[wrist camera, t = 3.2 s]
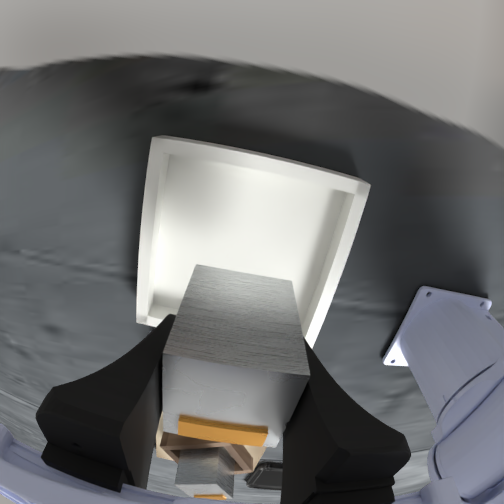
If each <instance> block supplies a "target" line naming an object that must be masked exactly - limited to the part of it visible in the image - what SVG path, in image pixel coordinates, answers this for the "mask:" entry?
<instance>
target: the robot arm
mask: <svg viewBox="0 0 504 504" xmlns="http://www.w3.org/2000/svg"><path fill="white" fill-rule="evenodd" d="M428 292H429V294H427V293H428ZM491 304H492V302H491V300H489V299H486V298H482V297H477V296H472V295H467V294H462V293H457V292H452V291H447V290H442V289H437V288H433V287H428V286H422V287H420V288H419V290H418V292H417V294H416V296H415V298H414V300H413V302H412V304H411V306H410V308H409V310H408V312H407V314H406V316H405V318H404V320H403V322H402V324H401V326H400V328H399V330H398V332H397V334H396V336H395V338H394V339H393V341H392V343H391V345H390V347H389V348H388V350H387V352H386V354H385V355H384V357H383V359H382V360H383V363H384V364H385V365H399V366H409V368H410V370H411V372H412V374H413V376H414V378H415V380H416V382H417V384H418V386H419V388H420V390H421V392H422V394H423V396H424V398H425V400H426V402H427V404H428V406H429V408H430V410H431V412H432V414H433V417H434V419H435V421H436V423H437V426H436V427H435V428H434V429H433V430H432V431H431V434H432V436H433V439H434V441H435V444H434V445H433V446H432V447H431V448H430V450H429V453H428V458H427V465H428V473H429V477H430V480H431V483H429V484H427V485H426V486H424V487H423V488H422V489H421V490H420V491H418V492H413V493H409V494H404V495H399V496H394V494H393V490H392V486H393V485H394V484H395V481H394V477H393V476H394V475H395V474H396V473H397V472H398V471H399V470H400V469H401V468H402V467H403V466H405V464H406V463H407V462H408V461H409V459H410V457H411V452H410V449H409V446H408V443H407V440H406V438H405V436H404V434H402V433H400V432H398V431H396V430H395V429H393V428H391V427H389V426H387V425H386V424H384V423H383V422H381V421H380V420H378V419H377V418H375V417H374V416H372V415H371V414H370V413H368V412H367V411H366V410H364V409H363V408H362V407H361V406H360V405H358V404H357V403H356V402H355V401H354V400H353V399H352V398H351V397H350V396H349V395H348V394H347V393H346V392H345V391H344V390H343V389H342V388H341V387H340V386H339V385H338V384H337V383H336V382H335V380H334V379H333V378H332V377H331V375H330V374H329V373H328V372H327V370H326V369H325V368H324V366H323V365H322V363H321V362H320V361H319V359H318V358H317V356H316V355H315V353H314V352H313V350H312V349H311V347H310V346H309V344H308V342H307V341H306V339H305V338H304V336H303V339H304V344H305V349H306V354H307V360H308V365H309V370H310V378H309V380H308V382H307V384H306V386H305V389H304V391H303V393H302V395H301V397H300V399H299V402H298V404H297V406H296V408H295V410H294V412H293V414H292V416H291V418H290V420H289V422H288V424H287V426H286V428H285V430H284V432H283V472H282V490H281V502H280V504H504V328H503V327H502V326H501V325H500V324H499V322H498V321H497V320H496V319H495V318H494V317H493V316H492V315H491V314H490V313H489V312H488V310H489V308H490V306H491ZM175 318H176V315H174V314H168V315H167V316H166V317H165V318H164V319H163V321H162V322H161V323H160V324H159V325H158V326H157V327H156V328H155V329H154V330H153V331H152V332H151V333H150V334H149V335H148V336H147V337H146V338H144V339H143V340H142V341H141V342H140V343H139V344H137V345H136V346H135V347H134V348H133V349H131V350H130V351H129V352H128V353H126V354H125V355H123V356H122V357H121V358H119V359H118V360H116V361H115V362H113V363H111V364H110V365H108V366H106V367H104V368H103V369H101V370H99V371H97V372H95V373H93V374H90V375H88V376H86V377H83V378H81V379H78V380H76V381H73V382H69V383H66V384H63V385H59V386H56V387H53V388H52V389H51V391H50V392H49V393H48V394H47V396H46V397H45V399H44V400H43V402H42V404H41V406H40V407H39V409H38V411H37V413H36V420H37V423H38V425H39V427H40V429H41V431H42V432H43V434H44V436H45V438H46V439H47V441H48V442H47V444H46V447H45V449H44V451H43V453H42V452H40V451H38V450H36V449H34V448H32V447H30V446H28V445H26V444H24V443H22V442H20V441H18V440H16V439H14V438H13V435H12V434H11V432H10V431H9V430H8V428H6V427H5V426H4V425H3V424H1V423H0V494H1V495H3V496H5V497H6V498H8V499H9V500H11V501H13V502H14V503H16V504H260V503H244V502H232V501H222V500H214V499H206V498H195V497H186V498H183V497H178V496H173V495H168V494H163V493H159V492H154V491H150V490H146V488H147V482H148V475H149V470H150V464H151V459H152V453H153V448H154V443H155V439H156V434H157V429H158V425H159V421H160V417H161V414H162V410H163V389H162V372H163V351H164V348H165V345H166V342H167V340H168V337H169V334H170V331H171V329H172V326H173V323H174V320H175ZM391 360H392V361H391Z"/></svg>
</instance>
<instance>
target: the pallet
mask: <svg viewBox="0 0 504 504" xmlns="http://www.w3.org/2000/svg"><path fill="white" fill-rule="evenodd" d="M222 446H224V447H225V449H226V450H227V451H228V452H229V453H230V455H231V456H232V457H233V458H234V459H235V468H234V474H243V473H252V472H253V471H254V469H255V467H256V465H257V464H258V462H259V460H260V458H261V456H262V455H263V453H264V451H265V449H266V447H264V446H262V447H259V446H249V445H240V444H231V443H224V442H217V441H210V440H204V439H198V438H192V437H187V436H182V435H178V434H174V433H169V432H164V431H163V410H162V414H161V417H160V421H159V425H158V429H157V434H156V451H157V457H160V458H164V459H169V460H173V461H175V462H176V463H177V464H178V462H179V457H180V451H181V450H182V449H199V448H211V447H222Z"/></svg>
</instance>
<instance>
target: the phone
mask: <svg viewBox="0 0 504 504" xmlns="http://www.w3.org/2000/svg"><path fill="white" fill-rule="evenodd" d="M282 472H283V464H279V463H262V464H260V465H259V466H258V467H257V468H256V469H255V471H254V472H253V473H252V475H251V476H250V477H249V478H248V480H247V486H248V487H250V488H258V489H270V490H282Z"/></svg>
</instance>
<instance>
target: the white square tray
mask: <svg viewBox="0 0 504 504" xmlns="http://www.w3.org/2000/svg"><path fill="white" fill-rule="evenodd" d="M370 187H371V185H370V184H369V183H367V182H365V181H364V180H362V179H360V178H358V177H354V176H351V175H347V174H344V173H340V172H337V171H333V170H330V169H326V168H322V167H318V166H315V165H311V164H307V163H303V162H299V161H295V160H291V159H287V158H282V157H278V156H274V155H269V154H265V153H260V152H255V151H251V150H246V149H241V148H236V147H231V146H226V145H220V144H215V143H209V142H204V141H198V140H192V139H185V138H179V137H172V136H165V135H161V136H155V137H152V140H151V147H150V153H149V160H148V167H147V175H146V183H145V191H144V200H143V209H142V220H141V231H140V244H139V259H138V279H137V319H136V322H137V323H141V324H145V325H149V326H153V327H157V326H158V325H159V324H160V323H161V322H162V321H163V319H164V318H165V317H166V316H167V315H168V314H174V315H177V312H178V310H179V307H180V304H181V302H182V299H183V297H184V294H185V291H186V289H187V286H188V283H189V281H190V278H191V276H192V273H193V271H194V268H195V266H196V264H199V265H205V266H210V267H216V268H221V269H227V270H232V271H238V272H244V273H249V274H255V275H261V276H267V277H273V278H278V279H284V280H290V281H292V284H293V289H294V294H295V299H296V304H297V308H298V313H299V318H300V323H301V328H302V334H303V336H304V338H305V339H306V341H307V342H308V344H309V346H310V347H311V349H312V347H313V345H314V343H315V340H316V338H317V336H318V333H319V331H320V328H321V326H322V323H323V321H324V319H325V316H326V314H327V311H328V309H329V306H330V303H331V301H332V298H333V296H334V293H335V291H336V288H337V285H338V283H339V280H340V277H341V274H342V272H343V269H344V266H345V263H346V261H347V258H348V255H349V252H350V249H351V246H352V243H353V241H354V238H355V235H356V232H357V229H358V226H359V222H360V219H361V216H362V213H363V210H364V207H365V204H366V200H367V197H368V194H369V190H370Z"/></svg>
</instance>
